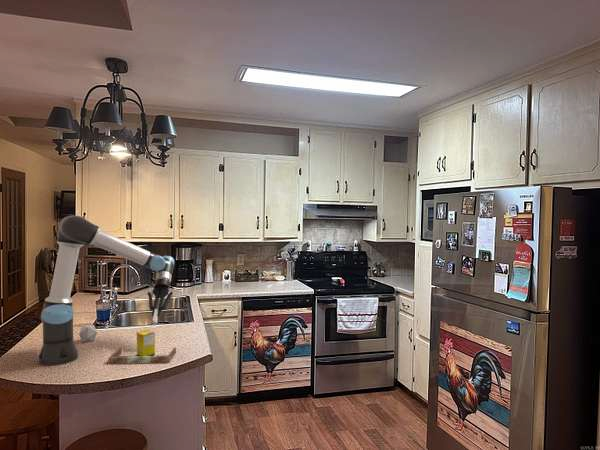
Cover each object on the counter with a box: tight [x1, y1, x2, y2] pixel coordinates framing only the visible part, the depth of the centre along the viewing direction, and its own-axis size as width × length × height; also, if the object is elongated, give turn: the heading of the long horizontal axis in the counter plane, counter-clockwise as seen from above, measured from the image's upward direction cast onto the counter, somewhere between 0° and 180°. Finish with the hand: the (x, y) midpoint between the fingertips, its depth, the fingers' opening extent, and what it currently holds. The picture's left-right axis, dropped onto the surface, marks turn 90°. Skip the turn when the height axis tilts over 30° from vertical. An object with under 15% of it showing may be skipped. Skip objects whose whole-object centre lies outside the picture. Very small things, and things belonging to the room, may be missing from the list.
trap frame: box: [107, 347, 177, 364], centre depth 185 cm, size 26×12×2 cm, turn 94°
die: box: [78, 324, 98, 343], centre depth 209 cm, size 8×9×10 cm
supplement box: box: [136, 329, 156, 357], centre depth 188 cm, size 6×6×11 cm
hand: (154, 322), depth 199 cm, fingers closed
